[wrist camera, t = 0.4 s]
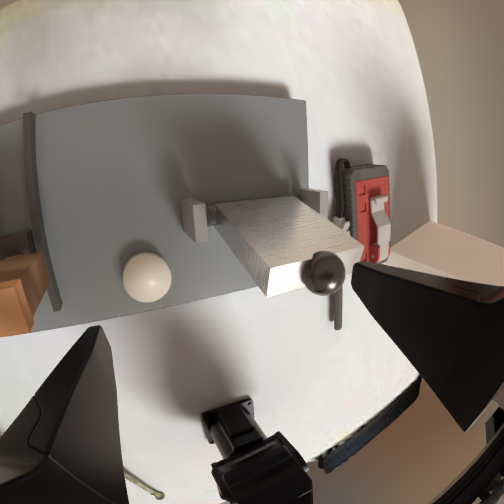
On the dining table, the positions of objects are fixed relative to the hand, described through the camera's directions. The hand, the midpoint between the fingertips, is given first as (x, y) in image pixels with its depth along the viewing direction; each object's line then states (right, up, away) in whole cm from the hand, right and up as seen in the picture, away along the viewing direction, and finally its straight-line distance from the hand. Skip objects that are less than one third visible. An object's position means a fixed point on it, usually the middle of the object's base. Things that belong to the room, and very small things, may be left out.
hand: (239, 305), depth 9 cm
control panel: (-9, +5, +11) cm, 15 cm away
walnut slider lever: (-16, +1, +6) cm, 17 cm away
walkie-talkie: (+12, +3, +23) cm, 26 cm away
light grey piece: (0, +5, +12) cm, 13 cm away
